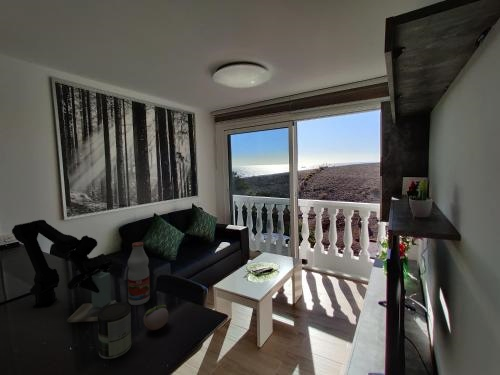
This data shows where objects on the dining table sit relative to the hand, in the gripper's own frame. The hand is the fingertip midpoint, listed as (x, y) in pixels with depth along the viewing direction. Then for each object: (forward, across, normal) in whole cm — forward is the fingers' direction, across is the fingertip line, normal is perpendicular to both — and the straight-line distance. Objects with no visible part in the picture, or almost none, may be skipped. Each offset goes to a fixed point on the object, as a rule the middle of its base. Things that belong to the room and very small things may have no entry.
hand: (103, 289), depth 107 cm
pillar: (+4, 0, +6) cm, 7 cm away
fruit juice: (+13, +14, +3) cm, 19 cm away
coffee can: (+22, -16, -6) cm, 28 cm away
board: (+4, 0, +12) cm, 12 cm away
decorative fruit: (+28, -3, -12) cm, 30 cm away
